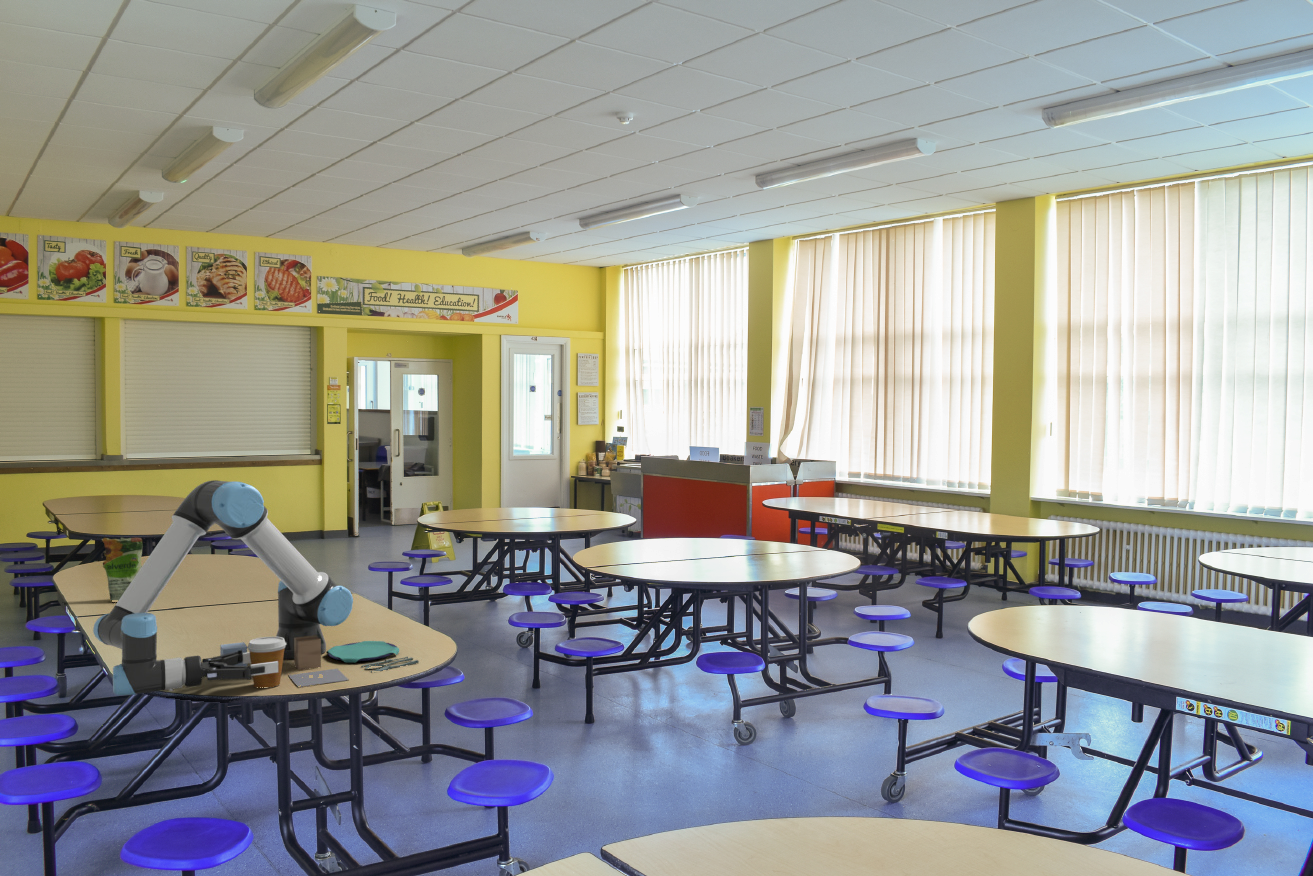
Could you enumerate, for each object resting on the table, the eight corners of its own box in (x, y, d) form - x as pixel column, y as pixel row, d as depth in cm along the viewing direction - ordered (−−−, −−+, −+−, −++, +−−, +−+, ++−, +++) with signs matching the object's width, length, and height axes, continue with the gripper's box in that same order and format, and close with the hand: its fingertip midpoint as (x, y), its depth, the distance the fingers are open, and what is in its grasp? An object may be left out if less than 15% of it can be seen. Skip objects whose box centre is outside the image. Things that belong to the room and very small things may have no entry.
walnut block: (294, 665, 261) (294, 637, 261) (316, 662, 264) (316, 635, 264) (298, 670, 256) (298, 642, 256) (320, 667, 259) (320, 639, 259)
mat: (288, 676, 250) (288, 675, 250) (337, 669, 257) (337, 668, 257) (297, 687, 239) (297, 687, 239) (348, 680, 246) (348, 679, 246)
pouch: (147, 599, 355) (146, 535, 354) (115, 605, 345) (114, 539, 344) (131, 596, 361) (131, 533, 360) (99, 601, 351) (99, 537, 350)
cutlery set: (379, 644, 287) (379, 636, 287) (425, 665, 265) (425, 657, 265) (317, 655, 274) (317, 648, 274) (360, 678, 251) (360, 670, 251)
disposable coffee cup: (291, 680, 246) (291, 636, 246) (278, 690, 237) (278, 644, 237) (256, 680, 246) (256, 636, 246) (241, 691, 237) (241, 644, 236)
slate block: (220, 673, 253) (220, 644, 253) (244, 670, 256) (243, 642, 256) (223, 678, 248) (223, 649, 248) (247, 675, 251) (247, 646, 251)
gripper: (179, 675, 241) (265, 664, 253) (188, 700, 220) (282, 686, 232) (179, 647, 241) (265, 637, 253) (188, 669, 220) (281, 657, 231)
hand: (273, 660), depth 242 cm, fingers open, 13 cm apart
